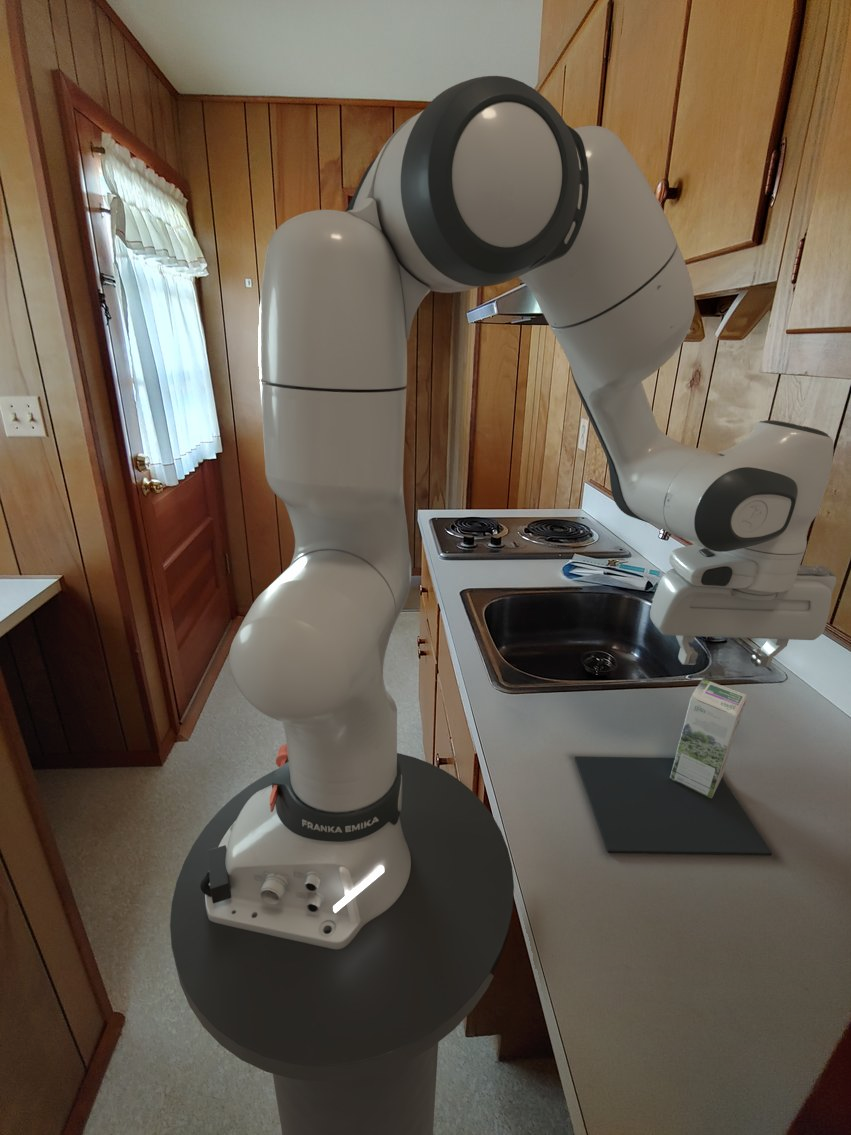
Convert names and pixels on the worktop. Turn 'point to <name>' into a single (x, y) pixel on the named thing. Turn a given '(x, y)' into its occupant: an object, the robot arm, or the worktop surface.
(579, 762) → the mat
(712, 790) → the syrup box
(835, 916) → the worktop surface
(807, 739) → the worktop surface
